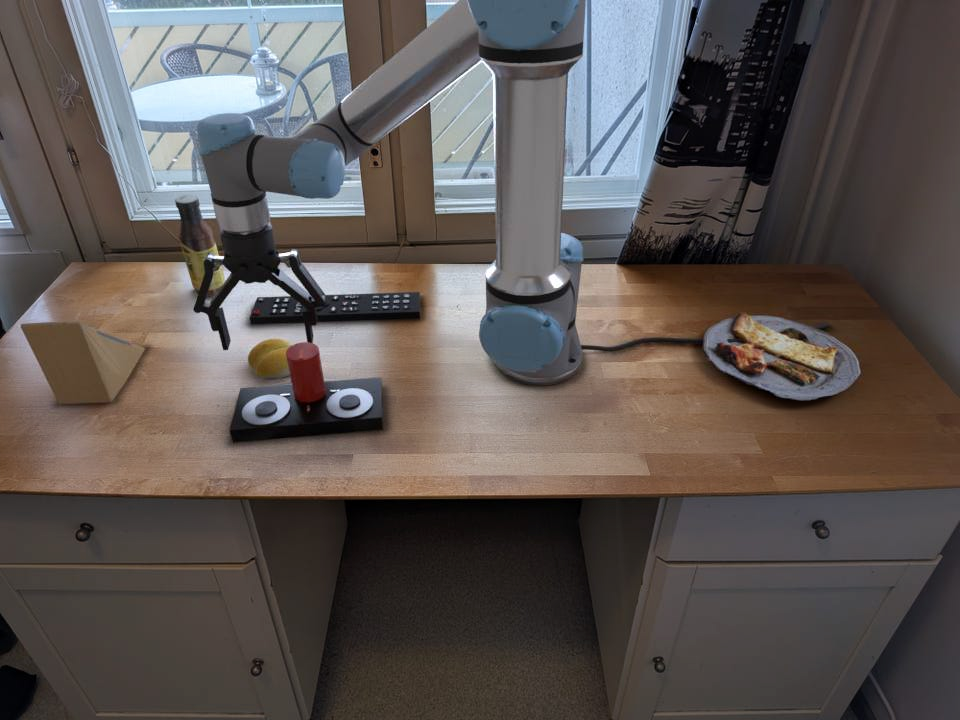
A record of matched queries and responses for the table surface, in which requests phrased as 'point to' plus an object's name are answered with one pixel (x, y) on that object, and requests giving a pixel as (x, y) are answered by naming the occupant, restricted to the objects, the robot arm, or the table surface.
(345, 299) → the remote control
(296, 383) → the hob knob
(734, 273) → the table surface
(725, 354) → the food plate
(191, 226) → the sauce bottle
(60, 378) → the sandwich container
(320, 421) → the hob
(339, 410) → the burner rings
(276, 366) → the bread roll
